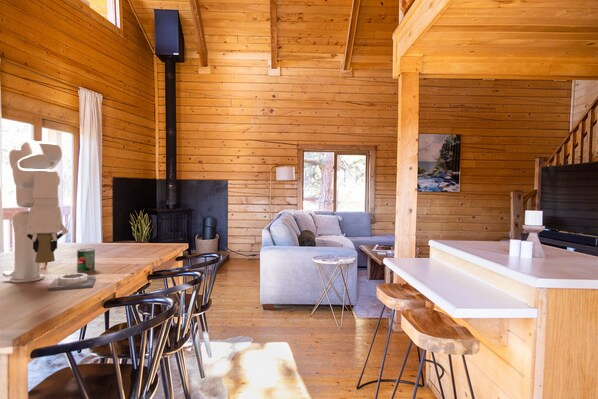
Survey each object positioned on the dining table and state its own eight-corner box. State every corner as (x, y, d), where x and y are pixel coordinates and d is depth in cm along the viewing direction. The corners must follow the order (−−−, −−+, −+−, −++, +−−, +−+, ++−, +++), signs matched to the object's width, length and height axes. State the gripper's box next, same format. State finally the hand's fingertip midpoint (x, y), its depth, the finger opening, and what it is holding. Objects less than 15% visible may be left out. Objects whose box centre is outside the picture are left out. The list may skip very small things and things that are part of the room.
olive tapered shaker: (58, 259, 136) (58, 231, 136) (47, 263, 130) (48, 233, 130) (42, 259, 136) (42, 230, 136) (31, 262, 130) (31, 232, 130)
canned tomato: (97, 269, 188) (98, 248, 187) (88, 272, 180) (88, 251, 180) (83, 268, 188) (83, 248, 188) (73, 272, 180) (73, 250, 180)
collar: (47, 290, 147) (47, 281, 147) (55, 281, 161) (55, 273, 161) (91, 287, 154) (91, 278, 154) (95, 278, 168) (95, 270, 168)
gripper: (14, 203, 126) (14, 254, 126) (70, 203, 133) (70, 252, 133) (20, 202, 133) (20, 250, 133) (73, 202, 140) (73, 248, 140)
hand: (45, 250), depth 133 cm, fingers closed on olive tapered shaker, 4 cm apart
